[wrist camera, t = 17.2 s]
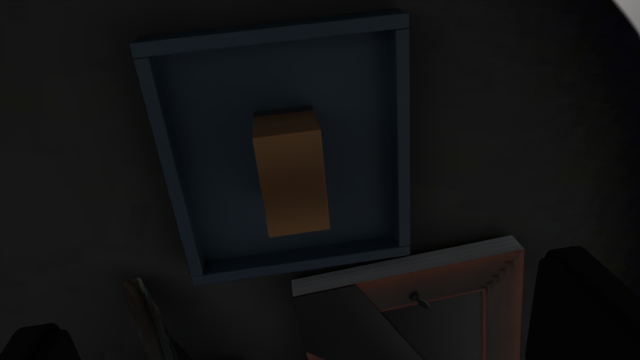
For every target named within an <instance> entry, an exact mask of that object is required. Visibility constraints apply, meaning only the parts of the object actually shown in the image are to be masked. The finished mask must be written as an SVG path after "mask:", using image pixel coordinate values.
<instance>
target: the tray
mask: <svg viewBox="0 0 640 360" xmlns="http://www.w3.org/2000/svg"><path fill="white" fill-rule="evenodd" d="M129 46H130V49H131V53H132V57H133V58H134V64H135V68H136V72H137V76H138V79H139V83H140V87H141V91H142V95H143V98H144V102H145V106H146V110H147V113H148V117H149V121H150V125H151V128H152V132H153V136H154V140H155V143H156V147H157V151H158V155H159V158H160V162H161V166H162V170H163V173H164V177H165V181H166V185H167V189H168V192H169V196H170V200H171V204H172V207H173V211H174V215H175V219H176V222H177V226H178V230H179V234H180V237H181V241H182V245H183V249H184V252H185V256H186V260H187V264H188V267H189V271H190V275H191V279H192V282H193V286H200V285H207V284H214V283H221V282H227V281H234V280H241V279H248V278H255V277H262V276H269V275H276V274H283V273H289V272H296V271H303V270H310V269H317V268H324V267H331V266H338V265H344V264H351V263H358V262H365V261H372V260H379V259H386V258H393V257H400V256H406V255H410V50H409V13H408V12H405V11H402V10H400V9H389V10H380V11H371V12H361V13H352V14H343V15H334V16H325V17H316V18H306V19H297V20H288V21H279V22H270V23H261V24H251V25H242V26H233V27H224V28H215V29H206V30H196V31H187V32H178V33H169V34H160V35H151V36H141V37H139V38H137V39H136V40H134V41H133V42H131V43H130V44H129ZM307 105H312V107H313V110H314V112H315V115H316V118H317V121H318V124H319V126H320V129H321V137H322V147H323V158H324V168H325V179H326V189H327V200H328V210H329V221H330V229H328V230H321V231H314V232H307V233H299V234H292V235H285V236H278V237H271V238H269V237H268V231H267V225H266V219H265V213H264V207H263V201H262V195H261V189H260V183H259V177H258V171H257V165H256V159H255V153H254V147H253V141H252V132H253V113H254V112H258V111H266V110H274V109H283V108H291V107H299V106H307Z"/></svg>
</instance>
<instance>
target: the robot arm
mask: <svg viewBox="0 0 640 360" xmlns="http://www.w3.org/2000/svg"><path fill="white" fill-rule="evenodd" d="M525 357H526V360H640V298H639V297H638V296H637V295H636V294H635V293H634V292H633V291H631V290H630V289H629V288H628V287H627V286H626V285H625V284H624V283H622V282H621V281H620V280H619V279H618V278H617V277H616V276H615V275H613V274H612V273H611V272H610V271H609V270H608V269H607V268H606V267H604V266H603V265H602V264H601V263H600V262H599V261H598V260H597V259H595V258H594V257H593V256H592V255H591V254H590V253H589V252H588V251H586V250H585V249H584V248H582V247H580V246H572V247H565V248H559V249H552V250H549V251H548V252H547V253H546V256H545V258H542V259H541V260H540V261H539V264H538V271H537V278H536V285H535V291H534V298H533V305H532V312H531V319H530V325H529V332H528V339H527V346H526V353H525ZM0 360H81V359H80V357H79V355H78V352H77V350H76V348H75V346H74V343H73V341H72V339H71V336H70V334H69V333H68V331H66V330H60V329H59V327H58V326H57V325H56V324H53V323H50V324H43V325H36V326H30V327H23V328H20V329H18V330H17V331H16V332H15V333H14V334H13V336H12V337H11V339H10V340H9V342H8V343H7V345H6V346H5V348H4V349H3V351H2V353H1V354H0Z"/></svg>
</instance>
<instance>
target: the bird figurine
mask: <svg viewBox="0 0 640 360" xmlns="http://www.w3.org/2000/svg"><path fill="white" fill-rule="evenodd" d="M123 286H124V292H125V296H126V298H127V301H128V306H129V309H130V311H131V313H132V314H133V317H134V319H135V321H136V323H137V326H138V329H139V335H140V339H141V342H142V345H143V348H144V352H145V355H146V358H147V360H192V359H191V358H190V357H189V356H188V354H187V353H186V352H185V351H184V350H183V349H182V348H181V347H180V346H179V345H178V344H177V343H176V342H175V341H174V340H173V339H172V338H171V337H170V336H169V333H168V330H167V327H166V325H165V323H164V321H163V319H162V315H161V312H160V311H159V308H158V306H157V305H156V304H155V302H154V299H153V297H152V295H151V292H150V290H149V289H148V287H147V286H146V285H145V284H144V283H143V282H142V280H141V279H140V278H139V277H138V278H135V279H129V280H128V281H126V282H124V283H123Z"/></svg>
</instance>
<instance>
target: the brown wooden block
mask: <svg viewBox="0 0 640 360" xmlns="http://www.w3.org/2000/svg"><path fill="white" fill-rule="evenodd" d="M252 141H253V147H254V153H255V159H256V165H257V171H258V177H259V183H260V189H261V195H262V201H263V207H264V213H265V219H266V225H267V231H268V237H269V238H271V237H278V236H285V235H292V234H299V233H307V232H314V231H321V230H328V229H330V221H329V210H328V200H327V189H326V179H325V168H324V158H323V147H322V137H321V129H320V126H319V124H318V121H317V118H316V115H315V112H314V110H313V107H312V105H307V106H299V107H291V108H283V109H274V110H266V111H258V112H254V113H253V132H252Z"/></svg>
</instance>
